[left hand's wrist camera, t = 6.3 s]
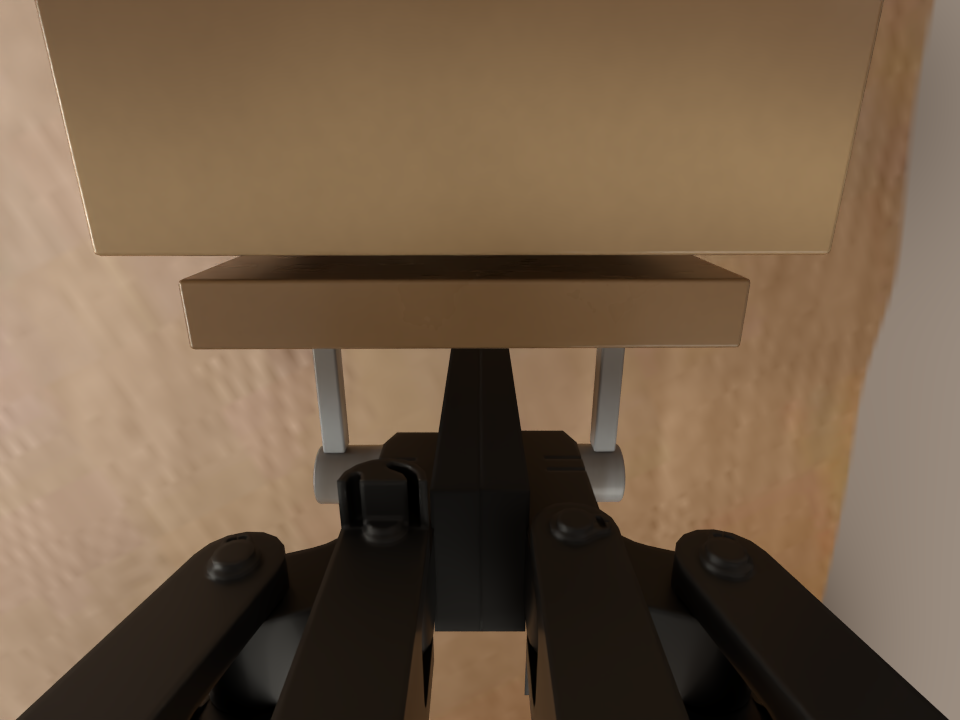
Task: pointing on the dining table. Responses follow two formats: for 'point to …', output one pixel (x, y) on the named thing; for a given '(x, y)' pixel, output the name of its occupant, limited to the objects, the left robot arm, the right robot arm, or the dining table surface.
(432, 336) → the drawer
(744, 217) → the cabinet
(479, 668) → the dining table surface
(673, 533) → the dining table surface
